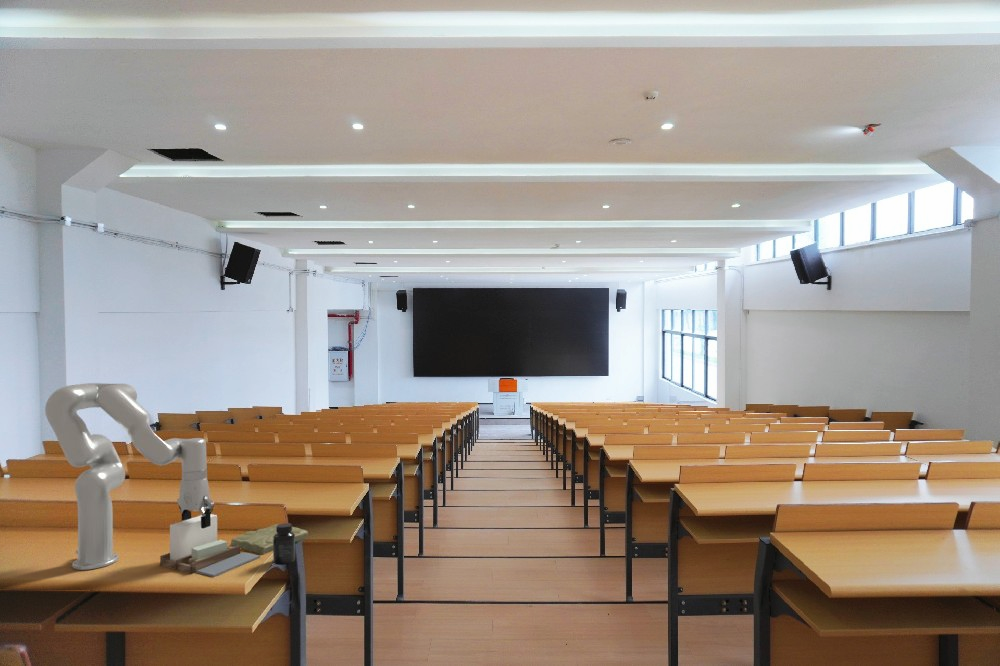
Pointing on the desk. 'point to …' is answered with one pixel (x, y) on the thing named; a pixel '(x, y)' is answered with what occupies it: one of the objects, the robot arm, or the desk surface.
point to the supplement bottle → (284, 544)
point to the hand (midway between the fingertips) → (196, 525)
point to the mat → (228, 564)
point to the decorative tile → (263, 539)
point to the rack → (184, 562)
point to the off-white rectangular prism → (190, 536)
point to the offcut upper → (209, 549)
